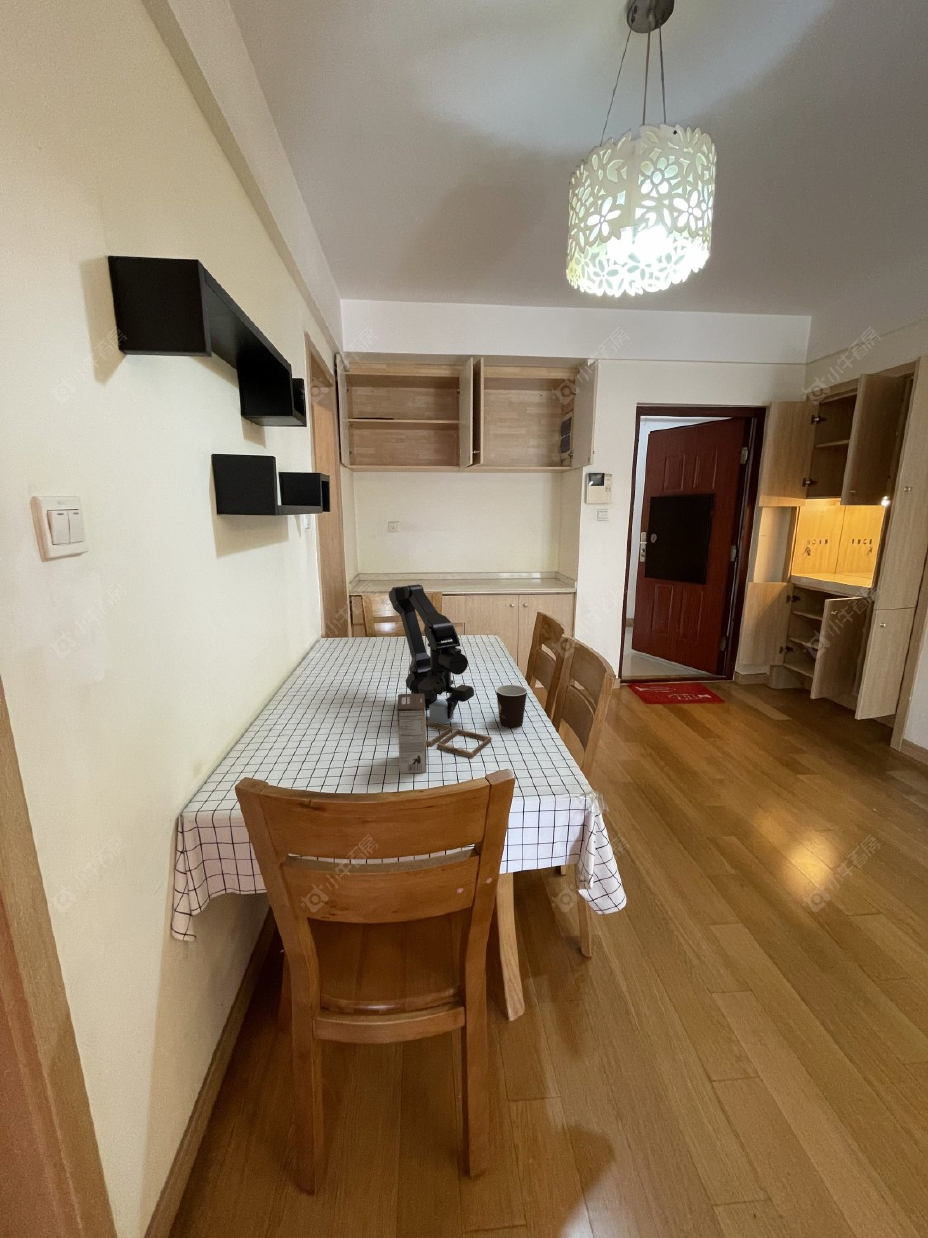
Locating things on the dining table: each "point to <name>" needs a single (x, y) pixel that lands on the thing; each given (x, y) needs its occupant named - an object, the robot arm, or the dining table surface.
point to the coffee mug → (511, 705)
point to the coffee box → (412, 733)
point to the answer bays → (448, 730)
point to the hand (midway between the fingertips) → (441, 716)
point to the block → (439, 712)
